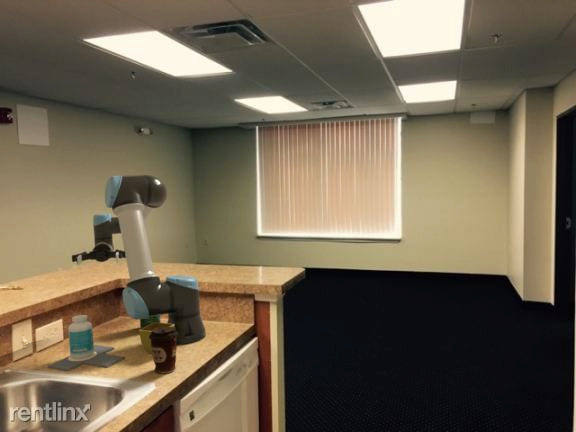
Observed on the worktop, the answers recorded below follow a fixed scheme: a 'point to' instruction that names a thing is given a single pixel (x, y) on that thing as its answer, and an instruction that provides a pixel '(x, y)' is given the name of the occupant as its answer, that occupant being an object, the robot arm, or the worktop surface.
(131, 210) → the robot arm
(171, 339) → the coffee cup
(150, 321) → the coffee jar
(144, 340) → the flower pot
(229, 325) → the worktop surface
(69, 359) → the t mat
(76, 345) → the pill bottle
